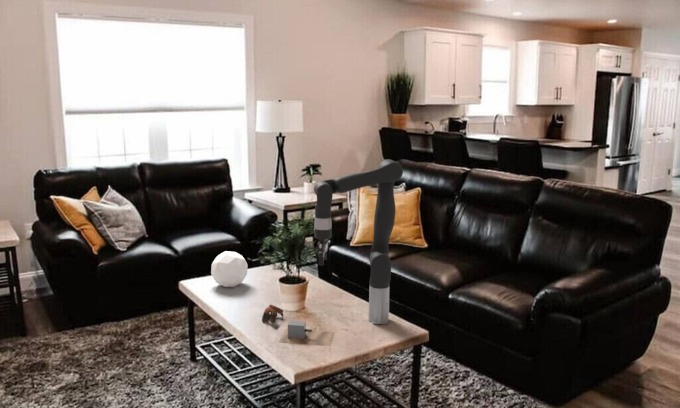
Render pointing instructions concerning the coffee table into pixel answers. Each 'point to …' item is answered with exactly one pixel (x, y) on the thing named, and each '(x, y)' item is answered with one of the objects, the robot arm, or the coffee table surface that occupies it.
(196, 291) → the coffee table surface
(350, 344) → the coffee table surface
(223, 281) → the geometric orb
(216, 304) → the coffee table surface
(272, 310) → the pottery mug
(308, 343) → the header board
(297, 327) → the plug housing
